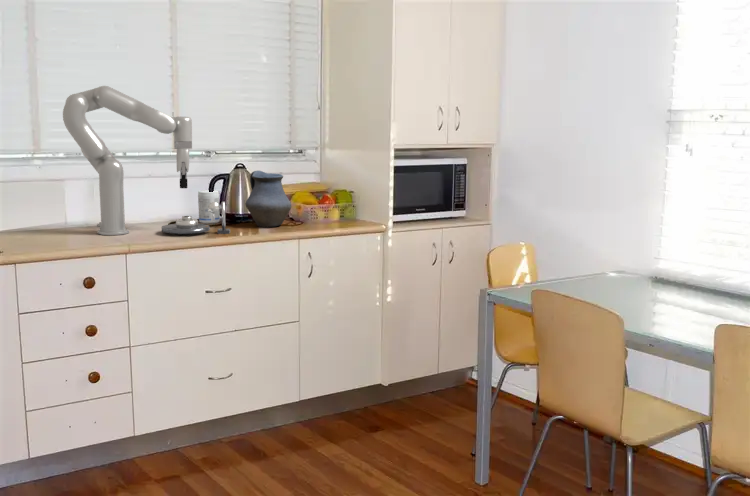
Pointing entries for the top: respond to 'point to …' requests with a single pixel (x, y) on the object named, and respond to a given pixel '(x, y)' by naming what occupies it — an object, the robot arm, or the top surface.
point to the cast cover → (186, 222)
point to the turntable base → (186, 234)
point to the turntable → (174, 230)
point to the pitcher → (267, 199)
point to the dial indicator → (214, 207)
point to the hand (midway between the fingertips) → (183, 188)
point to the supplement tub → (203, 202)
